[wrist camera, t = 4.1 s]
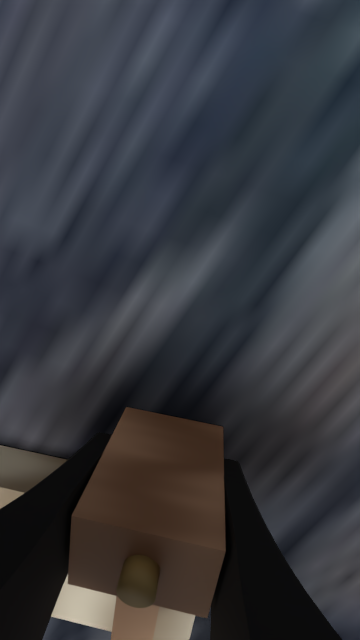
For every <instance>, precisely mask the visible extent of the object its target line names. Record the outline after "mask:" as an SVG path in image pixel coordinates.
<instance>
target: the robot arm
mask: <svg viewBox="0 0 360 640" xmlns="http://www.w3.org/2000/svg"><path fill="white" fill-rule="evenodd" d="M111 436H112V435H110V434H105V433H100V432H99V433H97V434H96V435H95V436H94V437H93V438H92V439H91V440H89V441H88V442H87V443H86V444H85V445H84V446H83V447H82V448H81V449H80V450H79V451H77V452H76V453H75V454H74V455H73V456H72V457H70V458H69V459H68V460H67V461H66V462H65V463H63V464H62V465H61V466H60V467H59V468H57V469H56V470H55V471H54V472H52V473H51V474H50V475H48V476H47V477H46V478H44V479H43V480H42V481H40V482H39V483H38V484H37V485H35V486H34V487H32V488H31V489H30V490H28V491H27V492H25V493H24V494H22V495H21V496H19V497H18V498H16V499H15V500H13V501H12V502H10V503H9V504H7V505H6V506H4V507H2V508H1V509H0V640H42V639H43V636H44V633H45V631H46V628H47V625H48V623H49V620H50V618H51V615H52V612H53V610H54V607H55V605H56V602H57V599H58V597H59V594H60V592H61V589H62V586H63V584H64V582H65V579H66V577H67V575H68V569H69V551H70V534H71V516H72V514H73V512H74V510H75V508H76V506H77V504H78V502H79V500H80V498H81V496H82V494H83V492H84V490H85V488H86V486H87V484H88V482H89V480H90V478H91V476H92V474H93V472H94V470H95V468H96V466H97V464H98V462H99V460H100V458H101V456H102V454H103V452H104V450H105V448H106V446H107V444H108V442H109V440H110V438H111ZM224 493H225V541H226V552H225V556H224V559H223V563H222V566H221V570H220V574H219V577H218V581H217V584H216V588H215V592H214V595H213V599H212V603H211V633H210V640H342V639H341V638H340V636H339V635H338V634H337V633H336V631H335V630H334V629H333V628H332V626H331V625H330V624H329V622H328V621H327V619H326V618H325V617H324V615H323V614H322V613H321V611H320V610H319V609H318V607H317V606H316V604H315V603H314V602H313V600H312V599H311V598H310V596H309V595H308V594H307V592H306V591H305V589H304V588H303V586H302V585H301V583H300V582H299V580H298V579H297V577H296V576H295V574H294V573H293V571H292V569H291V568H290V566H289V565H288V563H287V561H286V560H285V558H284V556H283V555H282V553H281V551H280V550H279V548H278V546H277V544H276V543H275V541H274V539H273V537H272V535H271V533H270V532H269V530H268V528H267V526H266V524H265V522H264V520H263V518H262V516H261V514H260V512H259V510H258V508H257V505H256V503H255V501H254V499H253V497H252V495H251V492H250V490H249V487H248V485H247V483H246V480H245V478H244V475H243V472H242V470H241V467H240V464H239V463H238V461H233V460H229V459H224Z"/></svg>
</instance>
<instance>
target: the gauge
mask: <svg viewBox="0 0 360 640" xmlns="http://www.w3.org/2000/svg"><path fill="white" fill-rule="evenodd" d="M225 552H226V541H225V493H224V445H223V427H222V426H217V425H212V424H207V423H203V422H198V421H193V420H188V419H183V418H178V417H173V416H168V415H163V414H158V413H154V412H149V411H144V410H139V409H134V408H129V407H126V408H125V410H124V412H123V414H122V416H121V418H120V420H119V422H118V424H117V426H116V428H115V430H114V432H113V434H112V436H111V438H110V440H109V442H108V444H107V446H106V448H105V450H104V452H103V454H102V456H101V458H100V460H99V462H98V464H97V466H96V468H95V470H94V472H93V474H92V476H91V478H90V480H89V482H88V484H87V486H86V488H85V490H84V492H83V494H82V496H81V498H80V500H79V502H78V504H77V506H76V508H75V510H74V512H73V514H72V516H71V534H70V551H69V569H68V584H70V585H74V586H78V587H82V588H86V589H90V590H94V591H98V592H102V593H106V594H111V595H115V596H116V604H115V611H114V619H113V626H112V634H111V640H153V636H154V631H155V626H156V621H157V616H158V611H159V607H163V608H167V609H172V610H176V611H180V612H184V613H188V614H192V615H196V616H200V617H204V618H207V617H208V613H209V610H210V606H211V603H212V599H213V595H214V592H215V588H216V584H217V581H218V577H219V574H220V570H221V566H222V563H223V559H224V556H225Z"/></svg>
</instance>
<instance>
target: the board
mask: <svg viewBox="0 0 360 640" xmlns="http://www.w3.org/2000/svg"><path fill="white" fill-rule="evenodd" d="M66 461H67V460H66V459H62V458H57V457H52V456H48V455H43V454H39V453H34V452H29V451H25V450H20V449H15V448H11V447H6V446H2V445H0V509H1V508H2V507H4V506H6V505H7V504H9V503H10V502H12V501H13V500H15V499H16V498H18V497H19V496H21V495H22V494H24V493H25V492H27V491H28V490H30V489H31V488H32V487H34V486H35V485H37V484H38V483H39V482H40V481H42V480H43V479H44V478H46V477H47V476H48V475H50V474H51V473H52V472H54V471H55V470H56V469H57V468H59V467H60V466H61V465H62V464H63V463H65V462H66ZM115 604H116V596H115V595H111V594H106V593H102V592H98V591H94V590H90V589H86V588H82V587H78V586H74V585H70V584H68V575H67V577H66V579H65V582H64V584H63V586H62V589H61V592H60V594H59V597H58V599H57V602H56V605H55V607H54V610H53V612H52V615H51V617H55V618H59V619H63V620H67V621H71V622H75V623H79V624H83V625H87V626H91V627H95V628H99V629H103V630H107V631H111V632H112V626H113V619H114V611H115ZM194 619H195V615H192V614H188V613H184V612H180V611H176V610H172V609H167V608H163V607H159V611H158V616H157V621H156V626H155V631H154V636H153V640H189V638H190V635H191V631H192V627H193V623H194Z"/></svg>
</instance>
